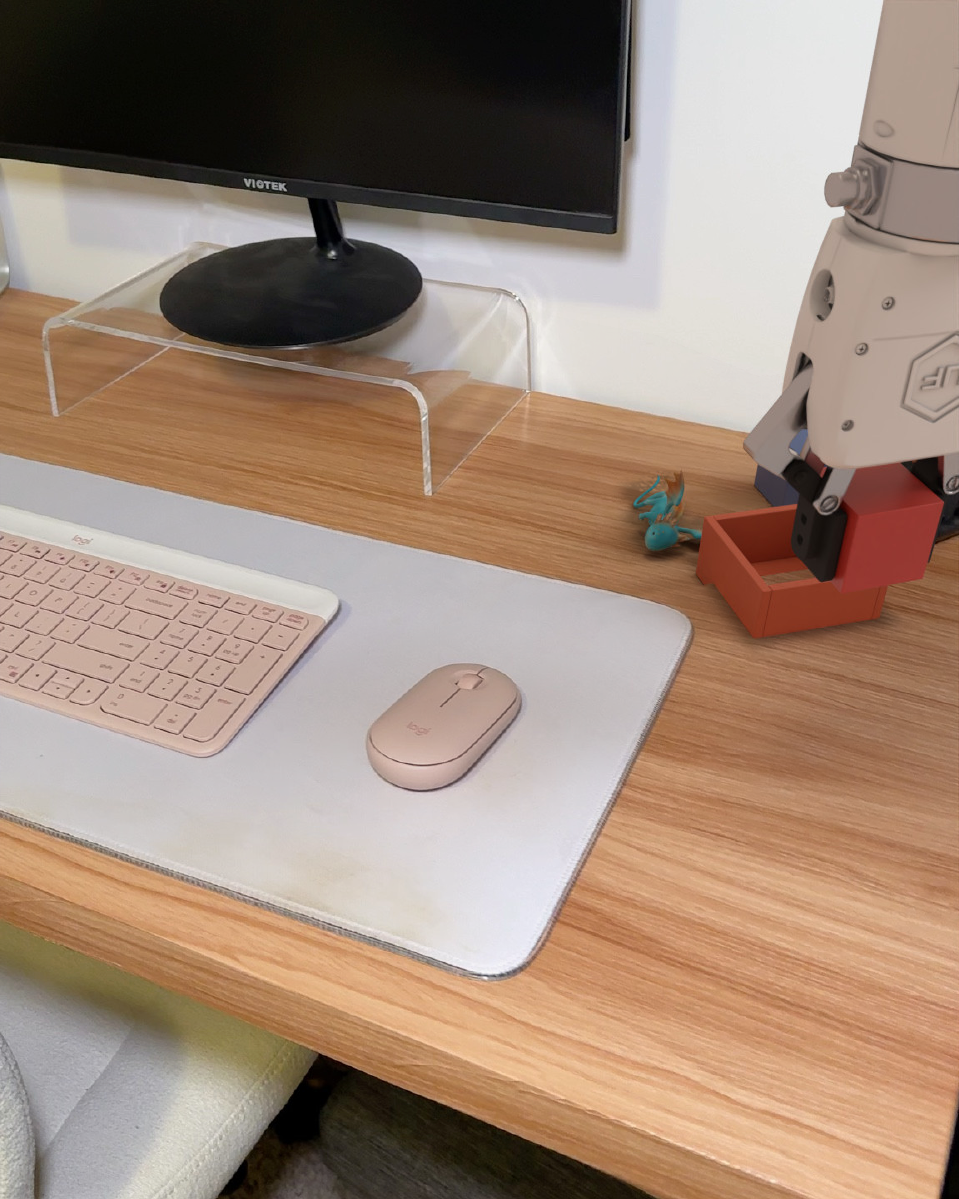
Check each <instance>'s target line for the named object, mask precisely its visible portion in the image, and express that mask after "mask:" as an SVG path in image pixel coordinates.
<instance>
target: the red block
mask: <svg viewBox="0 0 959 1199" xmlns="http://www.w3.org/2000/svg"><path fill="white" fill-rule="evenodd" d="M826 468H827V467H823V469H822V472H821V474H820V476H821V477H823V475H824V473H825V470H826ZM943 505H944V502H943V501H942V500H941V499H940V498H939V497H938V496H937V495H936V494H934V493H933V492H932V491H931V490H930V489H929V488H928V487H927V486H925V485H924V484H923V483H922V482H921V481H920V480H919V479H918V478H916V477H915V476H914V475H913V474H912V473H911V472H910V471H909V470H907V469H906V468H905V466H904V465H903V464H902V462H899V463H893V464H886V465H880V466H873V467H865V468H858V469H856V471H855V474H854V476H853V478H852V480H851V482H850V485H849V487H848V489H847V491H846V494H845V496H844V498H843V500H842V502H841V505H840V507H841V508H842V509H843V511H844V512H845V513H846V514H847V524H846V528H845V533H844V538H843V542H842V547H841V551H840V556H839V560H838V565H837V569H836V574H835V577H833V580H831V582H832V584H833V585H834V586H835V587H836V588H837V589H838V590H839V592H840V593H842V594H843V593H848V592H854V591H859V590H865V589H870V588H876V587H881V586H887V585H888V586H893V585H897V584H902V583H908V582H914V581H919V580H920V581H921V580H923V579H924V576H925V572H926V569H927V566H928V563H927V562H928V559H929V555H930V551H931V548H932V544H933V541H934V537H935V533H936V530H937V526H938V523H939V519H940V515H941V512H942V508H943Z"/></svg>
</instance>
